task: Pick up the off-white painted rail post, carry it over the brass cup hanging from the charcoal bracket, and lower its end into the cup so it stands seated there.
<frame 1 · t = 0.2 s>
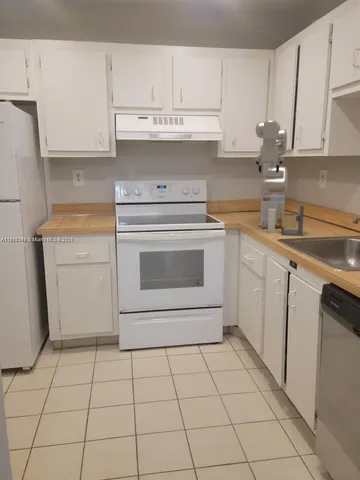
hand: (268, 172, 218), 36 cm above the worktop, tool pointing down, fingers open, 9 cm apart
cup bracket: (288, 233, 219), on the worktop
cracker box: (272, 227, 239), on the worktop
rail post: (271, 232, 222), on the worktop
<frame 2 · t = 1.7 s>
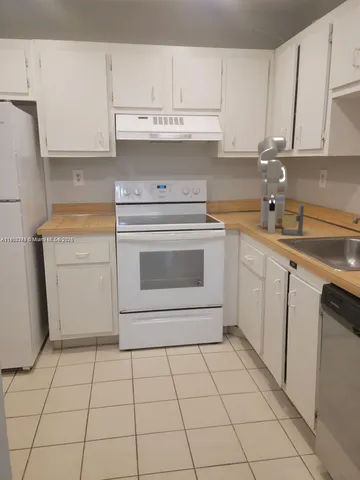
hand: (272, 210, 219), 13 cm above the worktop, tool pointing down, fingers open, 9 cm apart
nothing on the worktop moved.
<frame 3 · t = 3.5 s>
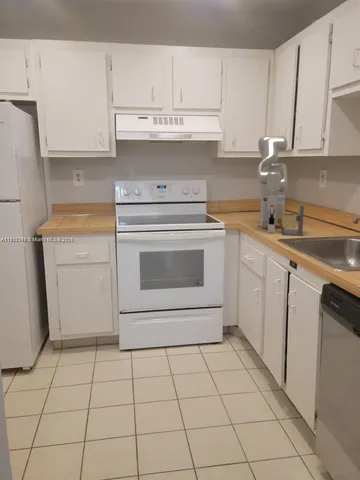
hand: (271, 223, 221), 5 cm above the worktop, tool pointing down, fingers closed on rail post, 4 cm apart
rail post: (271, 232, 222), on the worktop, touching gripper
everything else where it was.
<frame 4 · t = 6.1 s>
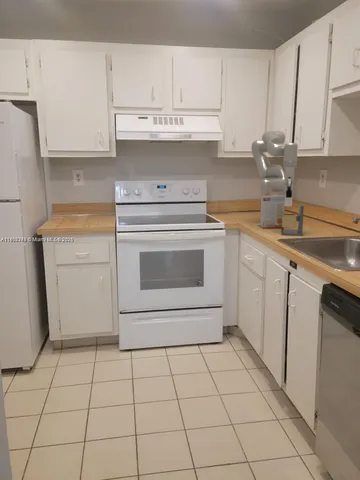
hand: (288, 196, 215), 21 cm above the worktop, tool pointing down, fingers closed on rail post, 4 cm apart
rail post: (288, 205, 216), point 16 cm above the worktop, touching gripper
everything else where it was.
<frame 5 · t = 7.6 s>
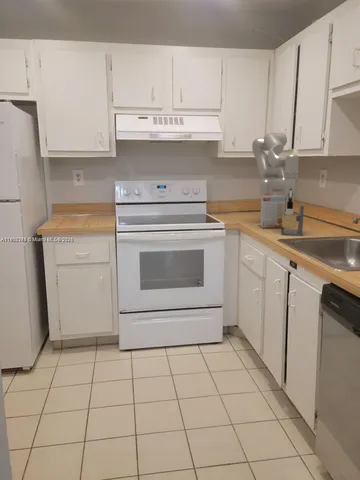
hand: (289, 207, 216), 15 cm above the worktop, tool pointing down, fingers closed on rail post, 4 cm apart
rail post: (289, 216, 217), point 10 cm above the worktop, touching gripper
everything else where it was.
when the fingers open (13 cm above the worktop, at t = 8.9 s): rail post drops 2 cm, resting on cup bracket.
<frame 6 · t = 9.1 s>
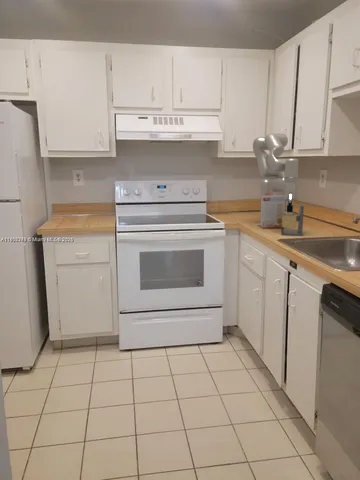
hand: (289, 211, 216), 13 cm above the worktop, tool pointing down, fingers open, 6 cm apart
rail post: (288, 224, 218), point 5 cm above the worktop, touching cup bracket
everything else where it was.
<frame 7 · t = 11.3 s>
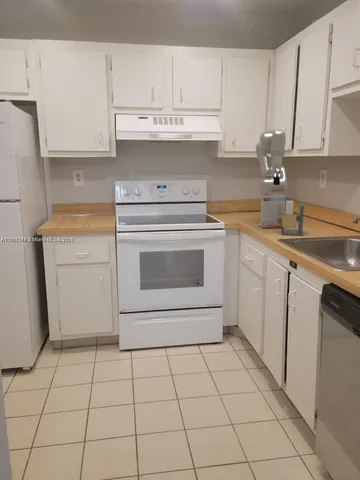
hand: (276, 184, 216), 29 cm above the worktop, tool pointing down, fingers open, 9 cm apart
nothing on the worktop moved.
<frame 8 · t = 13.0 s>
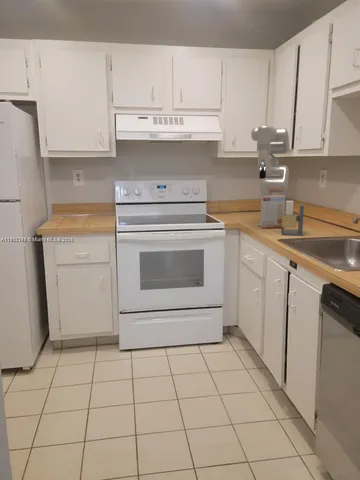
hand: (262, 178, 217), 32 cm above the worktop, tool pointing down, fingers open, 9 cm apart
nothing on the worktop moved.
at the end: rail post 0.0 cm off-centre on the cup bracket, point 5.0 cm above the cup bracket's base; rail post tilted 0°; the gripper is holding nothing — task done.
